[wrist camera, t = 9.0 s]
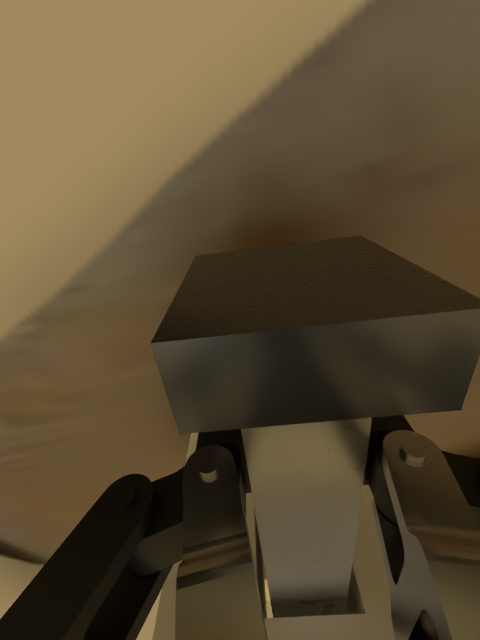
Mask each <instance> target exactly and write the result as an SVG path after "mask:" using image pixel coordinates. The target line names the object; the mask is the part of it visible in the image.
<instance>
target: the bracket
mask: <svg viewBox="0 0 480 640" xmlns="http://www.w3.org/2000/svg"><path fill="white" fill-rule="evenodd" d="M197 438H198V433H191V436H190V441H189V447H188V452H187V457H186V462H187V460H188V458H189V457H190V456H191V455H192V454H193V453H194V452H195V449H196V444H197ZM185 464H186V463H185ZM372 501H373V494H372V492H371V489H370V487H369V485H363V488H362V496H361V503H360V510H359V518H358V525H357V532H356V540H355V547H354V555H353V562H352V569H351V577H350V584H349V591H348V599H347V606H346V614H345V615H326V616H305V617H283V618H267V611H266V593H265V577H264V560H263V554H262V549H261V543H260V537H259V531H258V525H257V520H256V514H255V508H254V502H253V496H252V493H246V522H247V527H248V533H249V538H250V544H251V549H252V555H253V560H254V566H255V571H256V577H257V582H258V588H259V593H260V599H261V604H262V609H263V614H264V620H265V625H266V631H267V636H268V640H395V636H394V631H393V624H392V617H391V599H390V589H389V583H388V578H387V574H386V569H385V565H384V560H383V555H382V551H381V546H380V541H379V537H378V532H377V527H376V523H375V518H374V513H373V508H372ZM181 562H182V560H181V561H179V562H177V563H175V564H174V565H173V567H172V569H171V571H170V573H169V575H168V577H167V579H166V581H165V583H164V585H163V587H162V591H161V597H160V602H159V607H158V612H157V618H156V623H155V628H154V633H153V639H152V640H175V608H176V578H177V570H178V566H179V564H180V563H181Z"/></svg>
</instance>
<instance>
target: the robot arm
mask: <svg viewBox="0 0 480 640" xmlns="http://www.w3.org/2000/svg"><path fill="white" fill-rule="evenodd" d="M363 485H369V487H370V489H371V492H372V494H373V501H372V508H373V513H374V518H375V523H376V527H377V532H378V537H379V541H380V546H381V551H382V555H383V560H384V565H385V569H386V574H387V578H388V583H389V589H390V599H391V617H392V624H393V631H394V636H395V640H480V459H477V458H472V457H467V456H462V455H457V454H452V453H448V452H445V451H442V450H440V448H439V447H438V446H437V445H436V444H435V443H434V442H432V441H431V440H430V439H428V438H427V437H425V436H423V435H421V434H419V433H416V432H414V430H413V429H412V428H411V426H410V425H409V423H408V422H407V420H406V419H405V417H404V416H403V415H397V416H385V417H374V418H372V422H371V429H370V437H369V444H368V451H367V459H366V466H365V473H364V481H363ZM246 493H252V491H251V485H250V479H249V473H248V468H247V462H246V456H245V450H244V444H243V439H242V433H241V429H234V430H222V431H211V432H199V433H198V438H197V444H196V449H195V452H194V453H193V454H192V455H191V456H190V457H189V458H188V460H187V462H186V464H185V466H184V467H183V468H182V469H180V470H179V471H177V472H175V473H173V474H171V475H168V476H166V477H163V478H161V479H158V480H156V481H153V482H151V481H150V479H149V478H147V477H146V476H144V475H141V474H130V475H127V476H124V477H122V478H120V479H118V480H117V481H115V482H114V483H113V484H111V485H110V486H109V487H108V488H107V489H106V491H105V492H104V493H103V494H102V495H101V497H100V498H99V499H98V500H97V501H96V503H95V504H94V505H93V506H92V508H91V509H90V510H89V511H88V513H87V514H86V515H85V516H84V517H83V519H82V520H81V521H80V522H79V524H78V525H77V526H76V527H75V528H74V530H73V531H72V532H71V533H70V535H69V536H68V537H67V538H66V539H65V541H64V542H63V543H62V544H61V546H60V547H59V548H58V549H57V551H56V552H55V553H54V554H53V555H52V557H51V558H50V559H49V560H48V562H47V563H46V564H45V565H44V566H43V568H42V569H41V570H40V572H39V573H38V574H37V575H36V576H35V578H34V579H33V580H32V582H30V584H29V585H28V586H27V587H26V589H25V590H24V591H23V592H22V594H21V595H20V596H19V597H18V599H17V600H16V601H15V602H14V603H13V604H12V606H11V607H10V608H9V609H8V611H7V612H6V613H5V614H4V616H3V617H2V618H1V619H0V640H136V638H137V636H138V634H139V632H140V630H141V628H142V626H143V624H144V622H145V620H146V618H147V616H148V614H149V612H150V610H151V608H152V606H153V604H154V602H155V600H156V598H157V596H158V594H159V592H160V590H161V589H162V587H163V585H164V583H165V581H166V579H167V577H168V575H169V573H170V571H171V569H172V567H173V565H174V564H175V563H177V562H179V561H181V560H182V562H181V563H180V564H179V566H178V570H177V578H176V608H175V640H268V636H267V631H266V625H265V620H264V614H263V609H262V604H261V599H260V593H259V588H258V582H257V577H256V571H255V566H254V560H253V555H252V549H251V544H250V538H249V533H248V527H247V522H246Z"/></svg>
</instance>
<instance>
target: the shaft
mask: <svg viewBox="0 0 480 640" xmlns="http://www.w3.org/2000/svg"><path fill="white" fill-rule="evenodd" d="M150 344H151V347H152V350H153V353H154V356H155V359H156V362H157V365H158V368H159V372H160V375H161V378H162V381H163V384H164V387H165V390H166V393H167V396H168V399H169V403H170V406H171V409H172V412H173V415H174V418H175V421H176V424H177V427H178V430H179V434H188V433H199V432H211V431H222V430H234V429H241V433H242V439H243V444H244V450H245V456H246V462H247V468H248V473H249V479H250V485H251V491H252V496H253V502H254V508H255V514H256V520H257V525H258V531H259V537H260V543H261V549H262V554H263V560H264V566H265V572H266V577H267V583H268V589H269V595H270V600H271V606H272V612H273V618H283V617H305V616H326V615H345V614H346V606H347V599H348V591H349V584H350V577H351V569H352V562H353V555H354V547H355V540H356V532H357V525H358V518H359V510H360V503H361V496H362V488H363V481H364V473H365V466H366V459H367V451H368V444H369V437H370V429H371V422H372V418H374V417H385V416H397V415H408V414H420V413H432V412H443V411H455V410H461V408H462V405H463V402H464V399H465V396H466V393H467V390H468V387H469V384H470V381H471V378H472V375H473V372H474V369H475V366H476V363H477V360H478V357H479V354H480V298H478V297H476V296H474V295H472V294H470V293H468V292H466V291H464V290H463V289H461V288H459V287H457V286H455V285H453V284H451V283H449V282H447V281H446V280H444V279H442V278H440V277H438V276H436V275H434V274H432V273H430V272H429V271H427V270H425V269H423V268H421V267H419V266H417V265H415V264H413V263H411V262H410V261H408V260H406V259H404V258H402V257H400V256H398V255H396V254H394V253H393V252H391V251H389V250H387V249H385V248H383V247H381V246H379V245H377V244H376V243H374V242H372V241H370V240H368V239H366V238H364V237H362V236H353V237H345V238H337V239H329V240H321V241H313V242H304V243H296V244H288V245H280V246H272V247H264V248H256V249H247V250H239V251H231V252H223V253H215V254H207V255H198V256H196V257H195V259H194V261H193V263H192V265H191V267H190V268H189V270H188V272H187V274H186V276H185V278H184V280H183V282H182V284H181V286H180V288H179V290H178V291H177V293H176V295H175V297H174V299H173V301H172V303H171V305H170V307H169V309H168V311H167V312H166V314H165V316H164V318H163V320H162V322H161V324H160V326H159V328H158V330H157V332H156V334H155V335H154V337H153V339H152V341H151V343H150Z"/></svg>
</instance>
